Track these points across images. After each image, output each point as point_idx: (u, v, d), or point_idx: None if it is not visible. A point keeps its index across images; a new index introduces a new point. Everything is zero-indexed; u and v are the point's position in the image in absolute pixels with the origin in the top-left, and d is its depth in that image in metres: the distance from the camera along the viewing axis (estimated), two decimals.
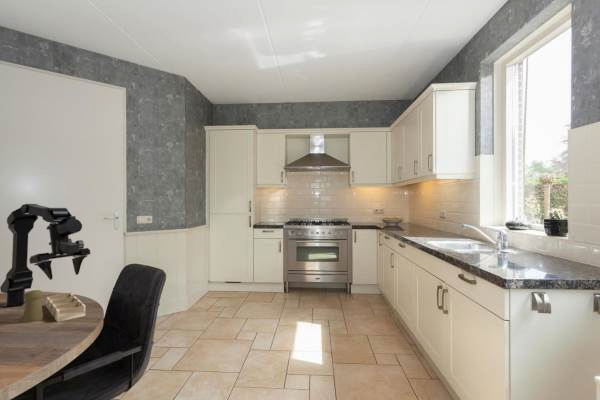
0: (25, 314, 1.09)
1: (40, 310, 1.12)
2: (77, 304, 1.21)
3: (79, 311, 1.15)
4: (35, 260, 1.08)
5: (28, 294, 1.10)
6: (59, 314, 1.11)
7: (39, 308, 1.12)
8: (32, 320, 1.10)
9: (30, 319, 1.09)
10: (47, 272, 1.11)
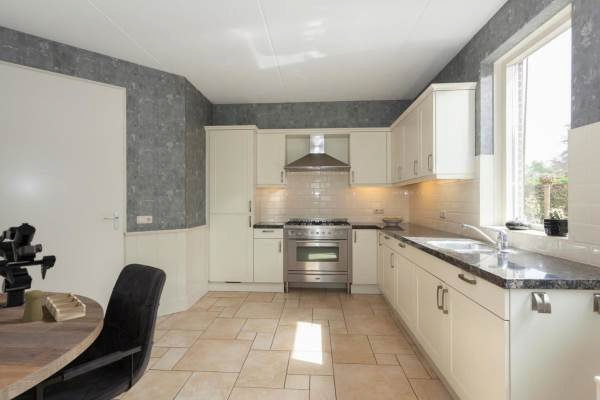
0: (25, 314, 1.09)
1: (40, 310, 1.12)
2: (77, 304, 1.21)
3: (79, 311, 1.15)
4: None
5: (28, 294, 1.10)
6: (59, 314, 1.11)
7: (39, 308, 1.12)
8: (32, 320, 1.10)
9: (30, 319, 1.09)
10: (8, 277, 1.13)
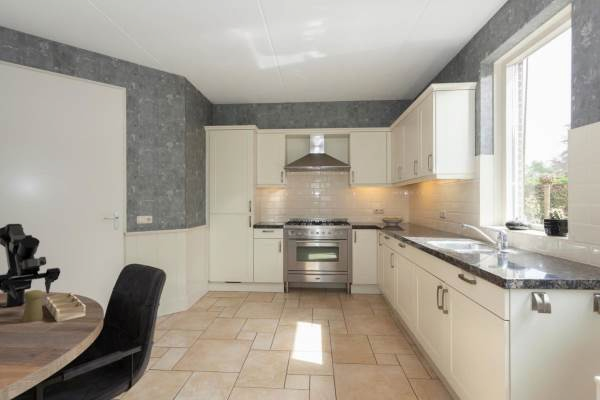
0: (25, 314, 1.09)
1: (40, 310, 1.12)
2: (77, 304, 1.21)
3: (79, 311, 1.15)
4: None
5: (28, 294, 1.10)
6: (59, 314, 1.11)
7: (39, 308, 1.12)
8: (32, 320, 1.10)
9: (30, 319, 1.09)
10: (11, 292, 1.09)
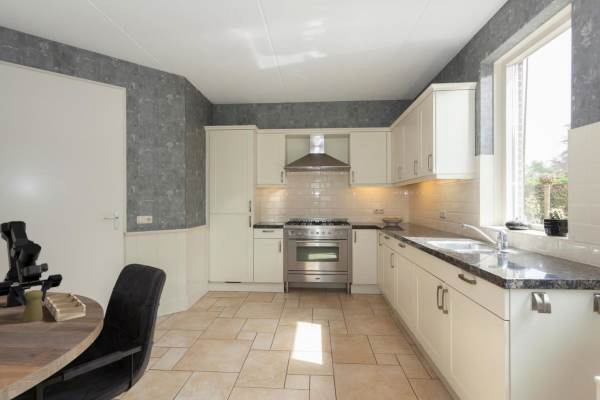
0: (25, 314, 1.09)
1: (40, 310, 1.12)
2: (77, 304, 1.21)
3: (79, 311, 1.15)
4: None
5: (28, 294, 1.10)
6: (59, 314, 1.11)
7: (39, 308, 1.12)
8: (32, 320, 1.10)
9: (30, 319, 1.09)
10: (20, 298, 1.09)
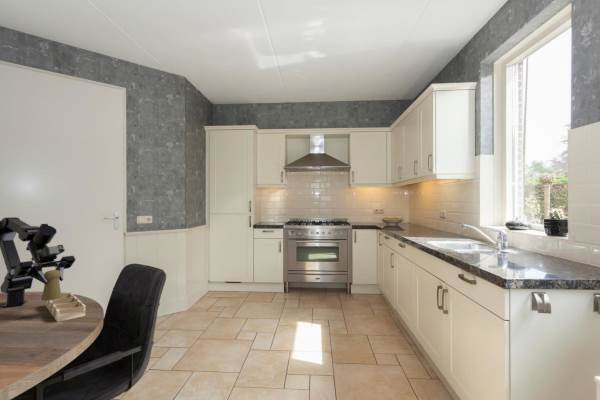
0: (46, 292, 1.15)
1: (59, 289, 1.18)
2: (77, 304, 1.21)
3: (79, 311, 1.15)
4: (18, 268, 1.10)
5: (49, 273, 1.15)
6: (59, 314, 1.11)
7: (58, 286, 1.18)
8: (53, 298, 1.15)
9: (51, 297, 1.15)
10: (40, 277, 1.14)
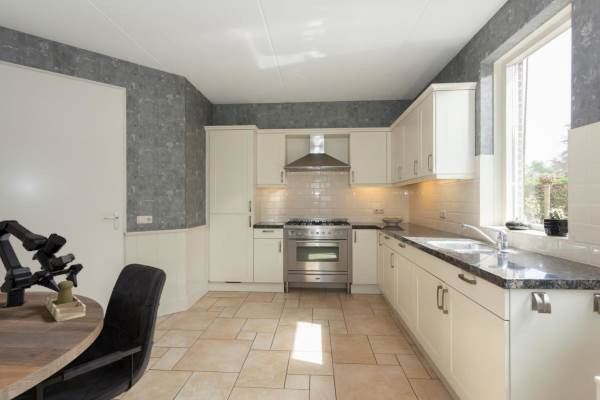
0: (60, 302, 1.19)
1: (72, 298, 1.23)
2: (77, 304, 1.21)
3: (79, 311, 1.15)
4: (35, 278, 1.14)
5: (63, 284, 1.20)
6: (59, 314, 1.11)
7: (71, 296, 1.23)
8: None
9: None
10: (53, 286, 1.18)
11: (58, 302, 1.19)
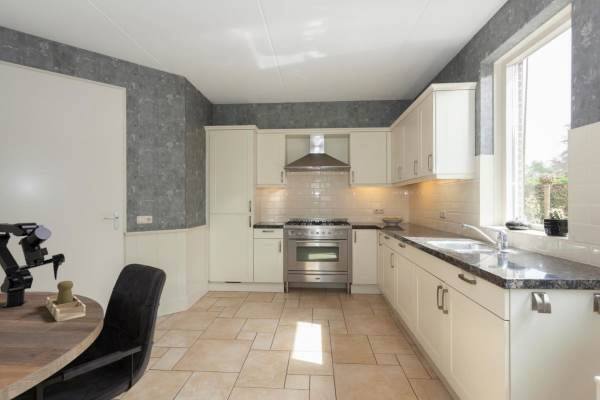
0: (60, 302, 1.19)
1: (72, 298, 1.23)
2: (77, 304, 1.21)
3: (79, 311, 1.15)
4: None
5: (63, 284, 1.20)
6: (59, 314, 1.11)
7: (71, 296, 1.23)
8: None
9: None
10: (21, 282, 1.18)
11: (58, 302, 1.19)
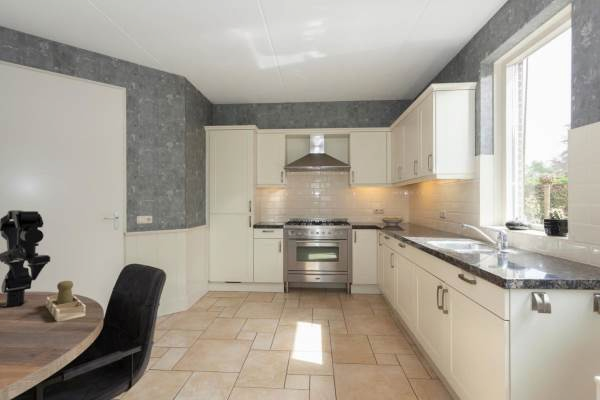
0: (60, 302, 1.19)
1: (72, 298, 1.23)
2: (77, 304, 1.21)
3: (79, 311, 1.15)
4: None
5: (63, 284, 1.20)
6: (59, 314, 1.11)
7: (71, 296, 1.23)
8: None
9: None
10: None
11: (58, 302, 1.19)
